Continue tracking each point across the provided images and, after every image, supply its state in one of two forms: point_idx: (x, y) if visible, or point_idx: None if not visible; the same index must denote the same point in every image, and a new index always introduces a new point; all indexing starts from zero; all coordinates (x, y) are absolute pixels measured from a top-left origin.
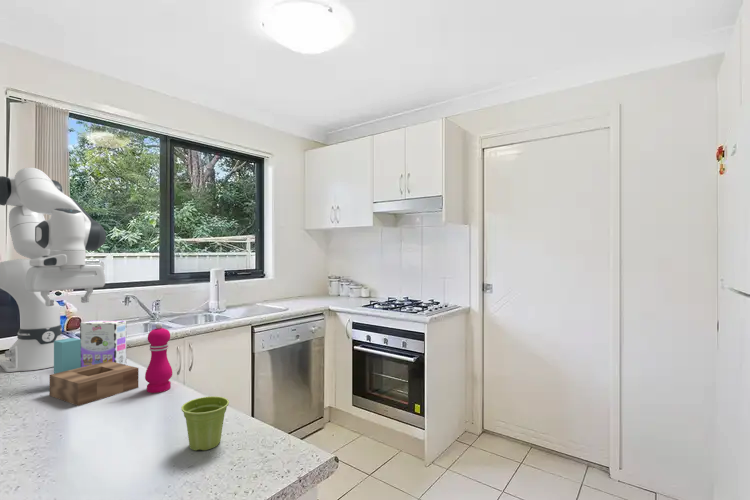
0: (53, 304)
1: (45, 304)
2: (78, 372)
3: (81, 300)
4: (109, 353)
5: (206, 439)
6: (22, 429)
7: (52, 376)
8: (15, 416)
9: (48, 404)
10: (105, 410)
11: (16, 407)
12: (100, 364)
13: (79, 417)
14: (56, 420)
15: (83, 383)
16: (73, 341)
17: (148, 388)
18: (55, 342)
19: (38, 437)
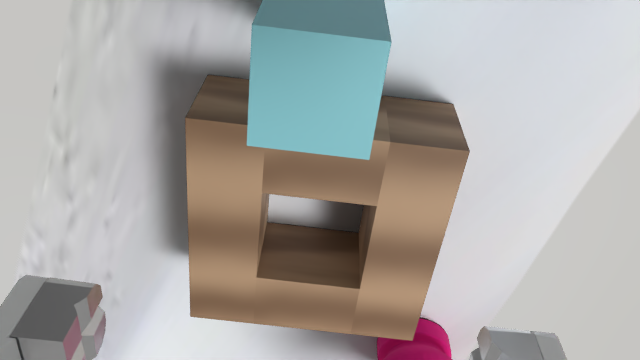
0: (94, 348)
1: (16, 288)
2: (274, 192)
3: (487, 350)
4: None
5: None
6: None
7: (186, 143)
8: (59, 176)
9: (162, 166)
10: (228, 341)
11: (84, 93)
12: (402, 170)
13: (167, 326)
14: (124, 297)
15: (207, 314)
16: (319, 152)
17: (378, 347)
18: (252, 46)
19: None
